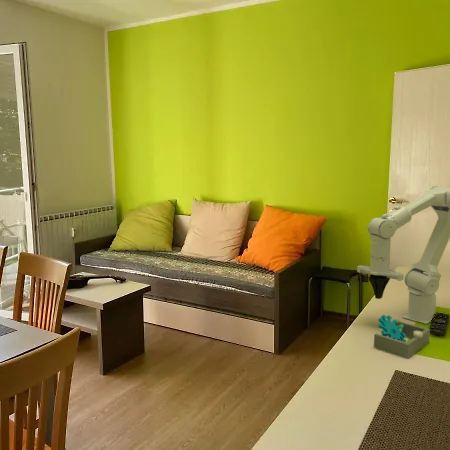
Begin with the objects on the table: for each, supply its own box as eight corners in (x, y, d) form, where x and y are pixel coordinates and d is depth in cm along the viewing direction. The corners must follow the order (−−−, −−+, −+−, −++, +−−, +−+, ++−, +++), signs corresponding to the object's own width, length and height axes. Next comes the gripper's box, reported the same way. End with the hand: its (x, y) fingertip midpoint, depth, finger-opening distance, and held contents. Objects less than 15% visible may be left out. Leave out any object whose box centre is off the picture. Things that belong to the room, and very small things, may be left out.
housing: (396, 332, 140) (397, 316, 139) (431, 342, 132) (432, 326, 131) (373, 347, 130) (374, 330, 129) (410, 359, 123) (411, 341, 122)
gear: (394, 347, 126) (375, 315, 131) (379, 356, 130) (361, 325, 135) (415, 341, 133) (396, 311, 138) (400, 350, 137) (382, 320, 142)
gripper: (352, 255, 143) (351, 295, 146) (396, 263, 133) (394, 306, 136) (364, 250, 148) (362, 290, 151) (407, 258, 138) (405, 300, 140)
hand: (378, 297), depth 144 cm, fingers closed
